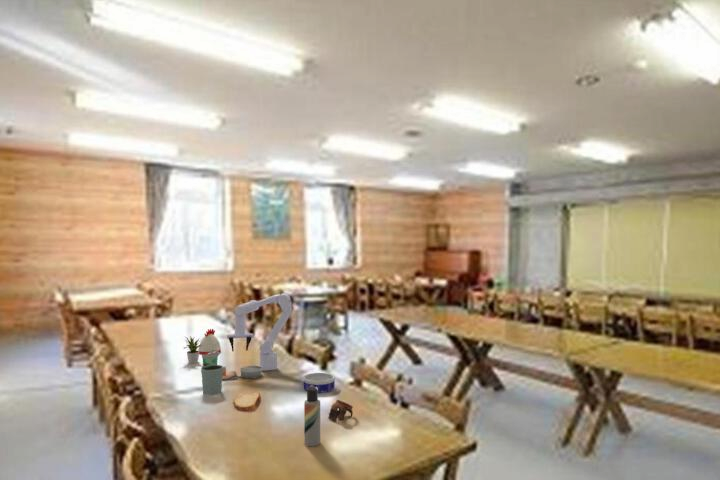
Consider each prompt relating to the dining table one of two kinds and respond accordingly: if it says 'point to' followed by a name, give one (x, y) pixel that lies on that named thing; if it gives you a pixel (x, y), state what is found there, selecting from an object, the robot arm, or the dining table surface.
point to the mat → (232, 377)
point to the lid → (227, 374)
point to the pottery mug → (341, 412)
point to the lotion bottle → (312, 418)
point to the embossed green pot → (212, 379)
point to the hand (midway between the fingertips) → (239, 350)
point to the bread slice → (246, 401)
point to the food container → (210, 358)
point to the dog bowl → (319, 382)
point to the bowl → (251, 371)
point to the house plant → (193, 350)
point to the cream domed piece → (209, 343)
